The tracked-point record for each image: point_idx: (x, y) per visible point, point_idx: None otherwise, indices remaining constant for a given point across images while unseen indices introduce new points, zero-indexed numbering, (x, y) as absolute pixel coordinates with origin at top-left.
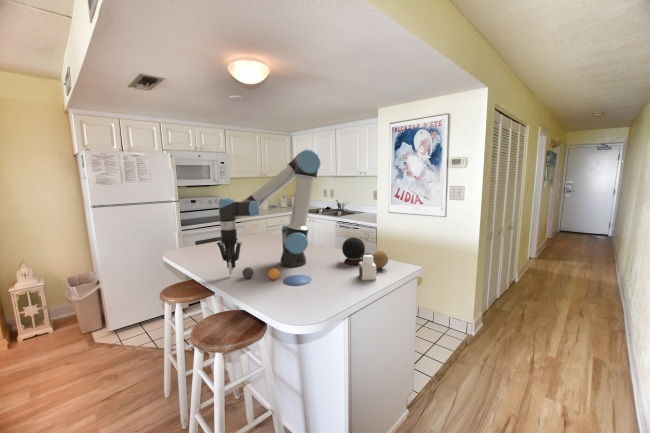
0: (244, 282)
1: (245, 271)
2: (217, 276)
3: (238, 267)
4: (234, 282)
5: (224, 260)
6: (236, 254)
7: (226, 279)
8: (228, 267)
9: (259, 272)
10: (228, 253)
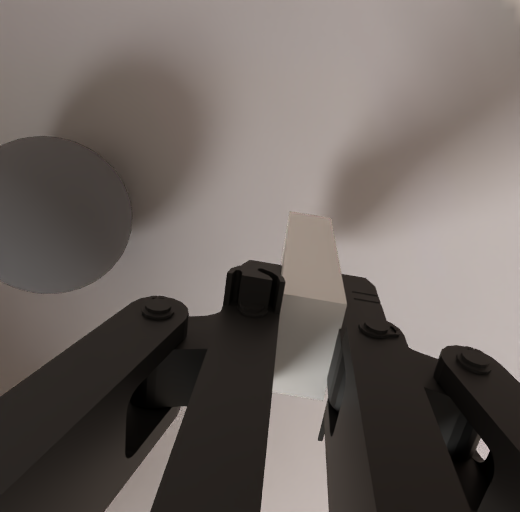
0: (64, 34)
1: (29, 160)
2: (511, 266)
3: None
4: (200, 35)
5: (454, 349)
6: (30, 402)
7: (353, 154)
8: (350, 277)
9: (44, 357)
10: (360, 507)
